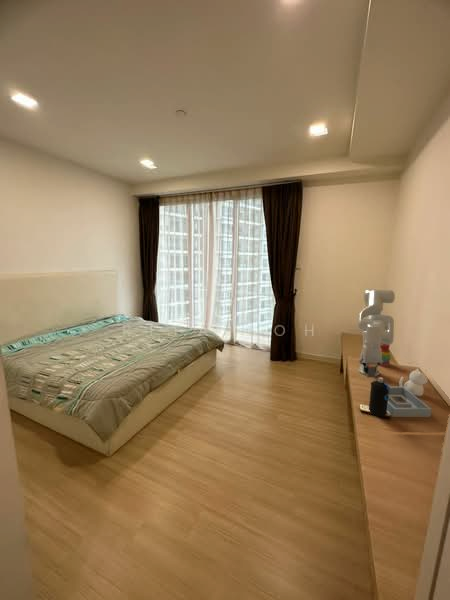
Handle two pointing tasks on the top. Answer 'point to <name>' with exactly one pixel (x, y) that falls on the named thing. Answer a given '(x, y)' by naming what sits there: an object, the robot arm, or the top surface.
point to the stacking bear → (385, 355)
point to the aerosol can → (379, 397)
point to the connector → (371, 370)
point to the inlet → (404, 401)
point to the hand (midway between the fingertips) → (369, 371)
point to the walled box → (417, 405)
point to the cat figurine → (415, 382)
